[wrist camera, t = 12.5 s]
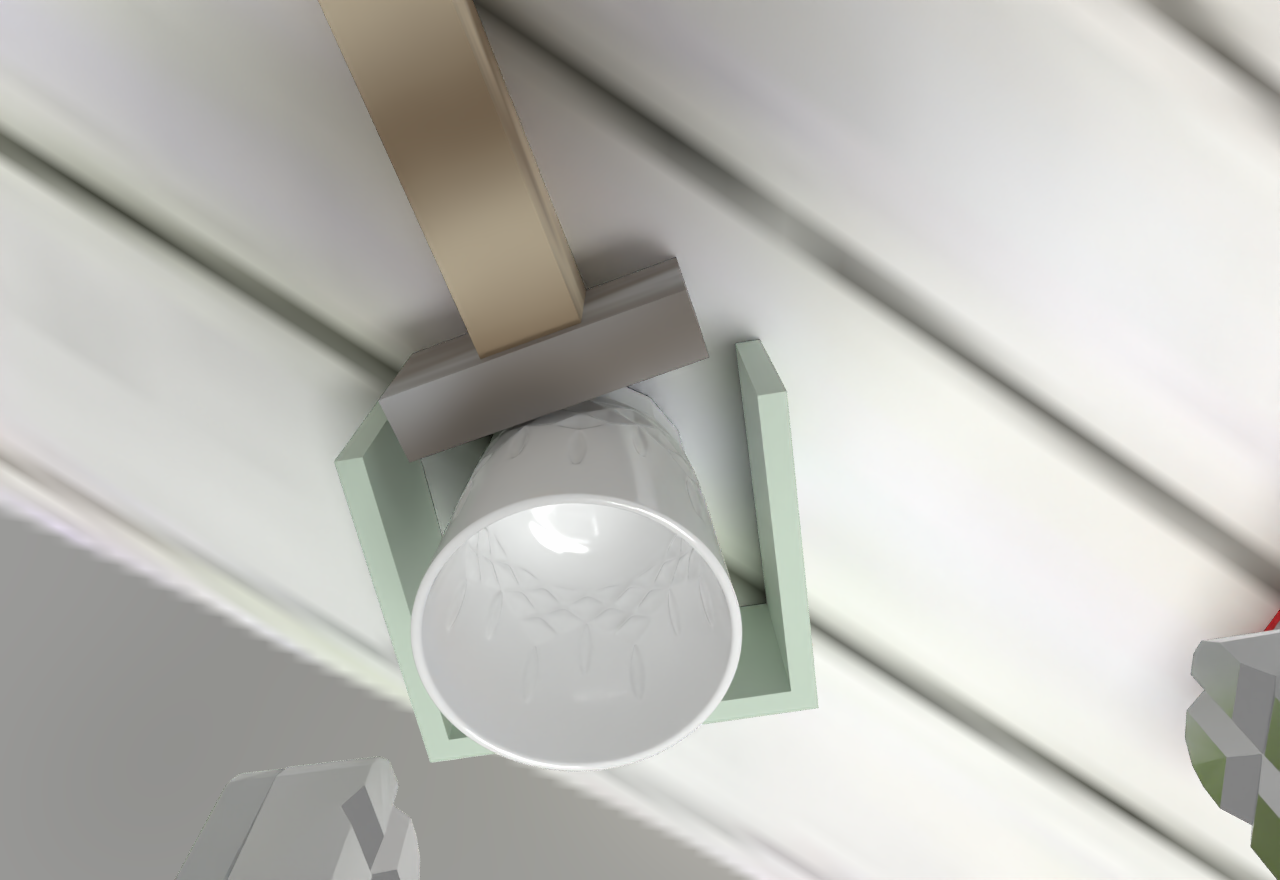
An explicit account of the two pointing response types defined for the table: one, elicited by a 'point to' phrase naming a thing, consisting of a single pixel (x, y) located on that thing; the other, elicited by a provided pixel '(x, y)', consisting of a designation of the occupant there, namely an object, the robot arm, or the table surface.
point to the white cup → (579, 593)
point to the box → (771, 633)
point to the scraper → (494, 240)
